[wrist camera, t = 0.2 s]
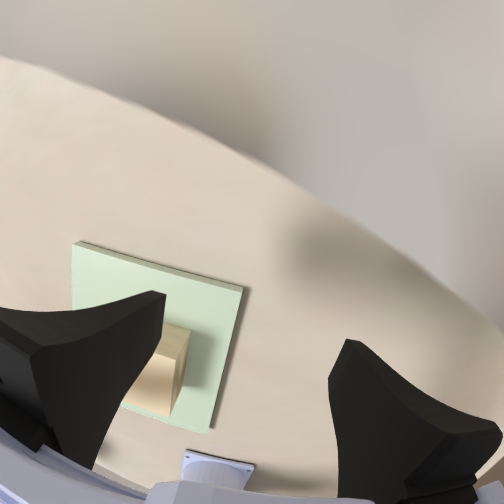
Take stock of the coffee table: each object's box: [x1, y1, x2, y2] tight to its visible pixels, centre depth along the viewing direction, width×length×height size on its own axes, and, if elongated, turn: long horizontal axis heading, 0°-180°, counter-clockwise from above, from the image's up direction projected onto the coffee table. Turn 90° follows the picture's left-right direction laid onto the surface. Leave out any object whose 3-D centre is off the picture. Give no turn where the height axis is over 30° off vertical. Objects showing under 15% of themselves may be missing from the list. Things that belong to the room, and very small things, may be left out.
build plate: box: [72, 241, 244, 435], centre depth 23 cm, size 16×14×1 cm
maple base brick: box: [122, 321, 191, 417], centre depth 20 cm, size 6×6×4 cm
